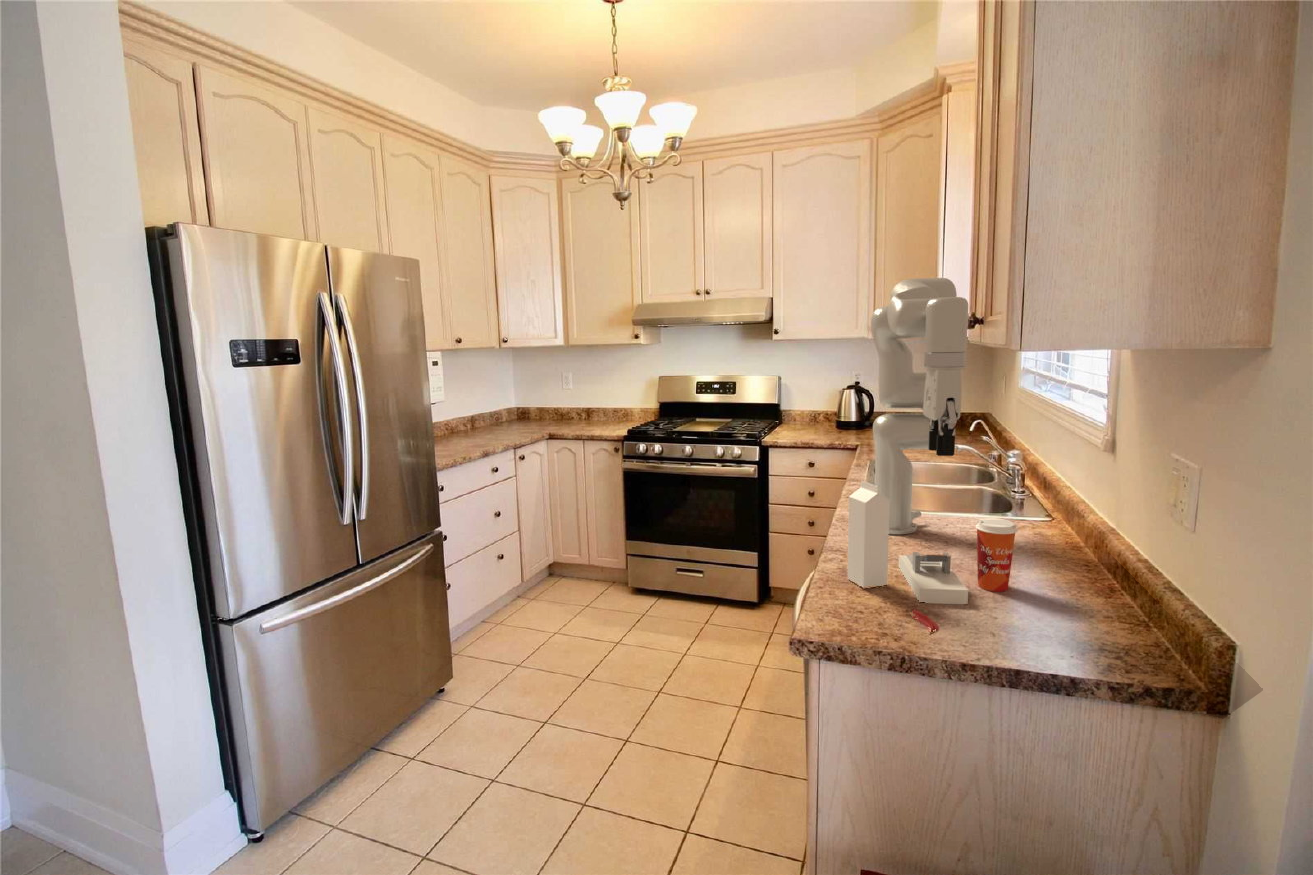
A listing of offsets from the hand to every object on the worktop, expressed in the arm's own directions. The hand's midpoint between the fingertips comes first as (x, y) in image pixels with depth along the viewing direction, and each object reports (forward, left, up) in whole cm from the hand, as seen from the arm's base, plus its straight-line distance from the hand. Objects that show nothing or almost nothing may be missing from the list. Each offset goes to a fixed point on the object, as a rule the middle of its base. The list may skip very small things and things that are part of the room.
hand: (941, 451), depth 131 cm
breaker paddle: (-2, -3, -24) cm, 24 cm away
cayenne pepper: (+14, +8, -30) cm, 34 cm away
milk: (+8, -11, -30) cm, 33 cm away
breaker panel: (-2, -3, -29) cm, 30 cm away
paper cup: (-12, +5, -30) cm, 32 cm away
